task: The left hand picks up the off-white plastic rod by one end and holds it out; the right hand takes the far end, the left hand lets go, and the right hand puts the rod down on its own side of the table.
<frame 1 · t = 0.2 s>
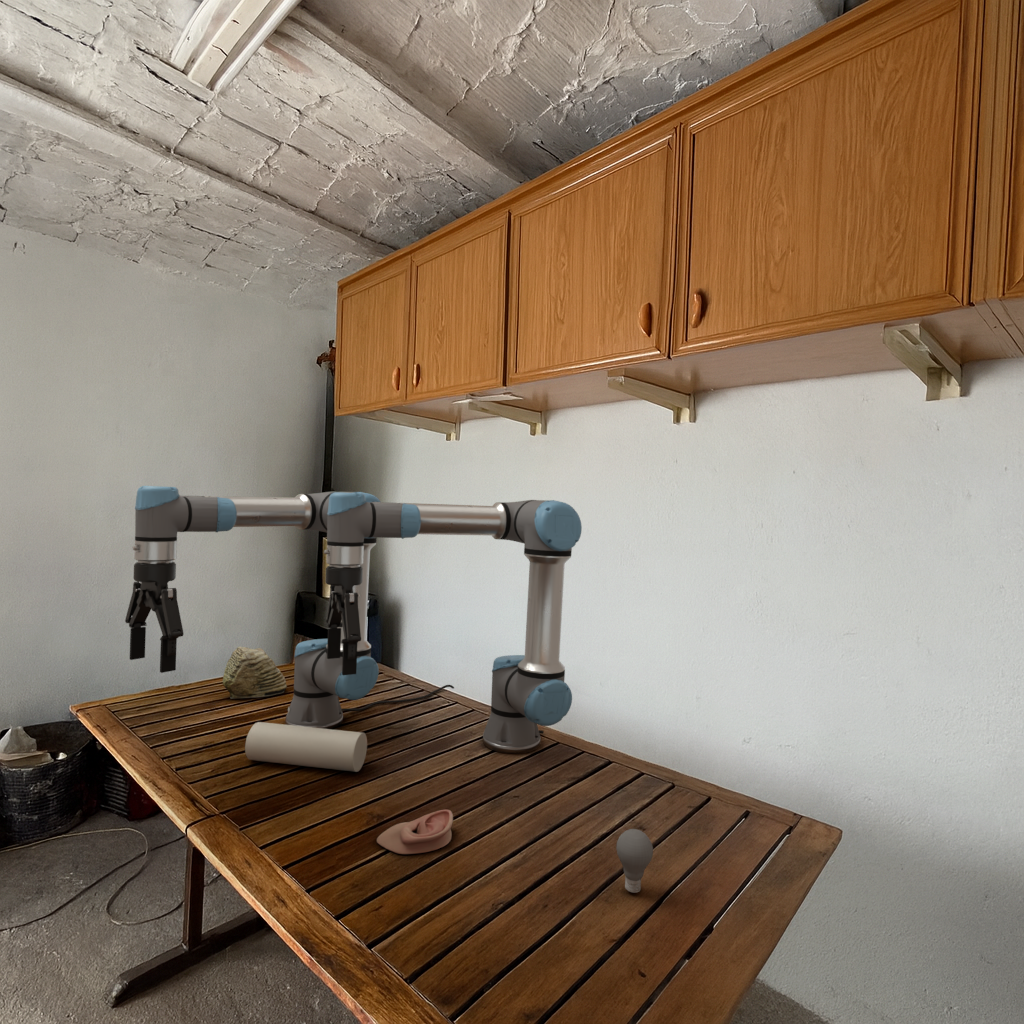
left hand: (152, 664, 130), 27 cm above the table, tool pointing down, fingers open, 13 cm apart
right hand: (340, 666, 134), 28 cm above the table, tool pointing down, fingers open, 13 cm apart
rod: (306, 764, 149), on the table
anatomical model: (415, 839, 119), on the table
light bulb: (632, 891, 106), on the table
fossil: (254, 694, 198), on the table
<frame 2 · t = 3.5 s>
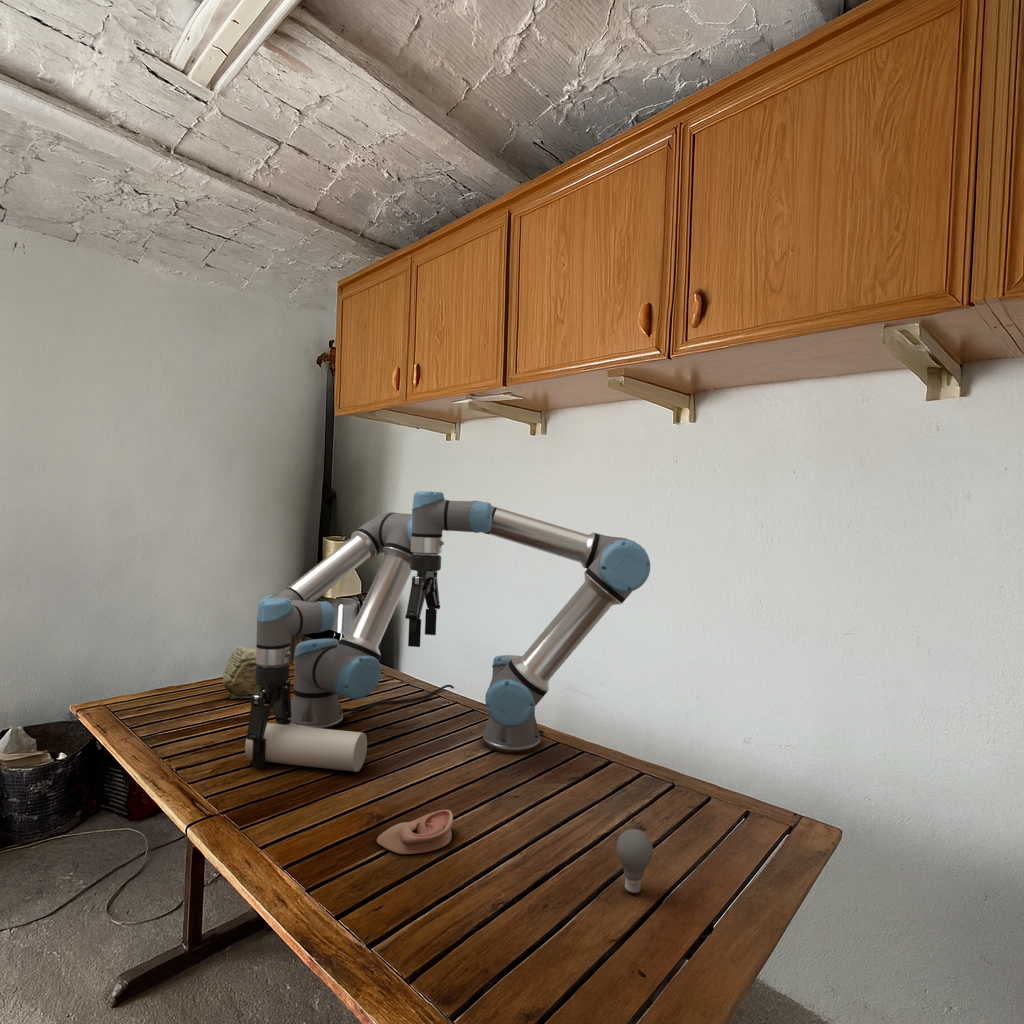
left hand: (269, 758, 151), 0 cm above the table, tool pointing down, fingers closed on rod, 9 cm apart
right hand: (422, 640, 156), 29 cm above the table, tool pointing down, fingers open, 13 cm apart
rod: (306, 764, 149), on the table, touching left hand
everything else where it was.
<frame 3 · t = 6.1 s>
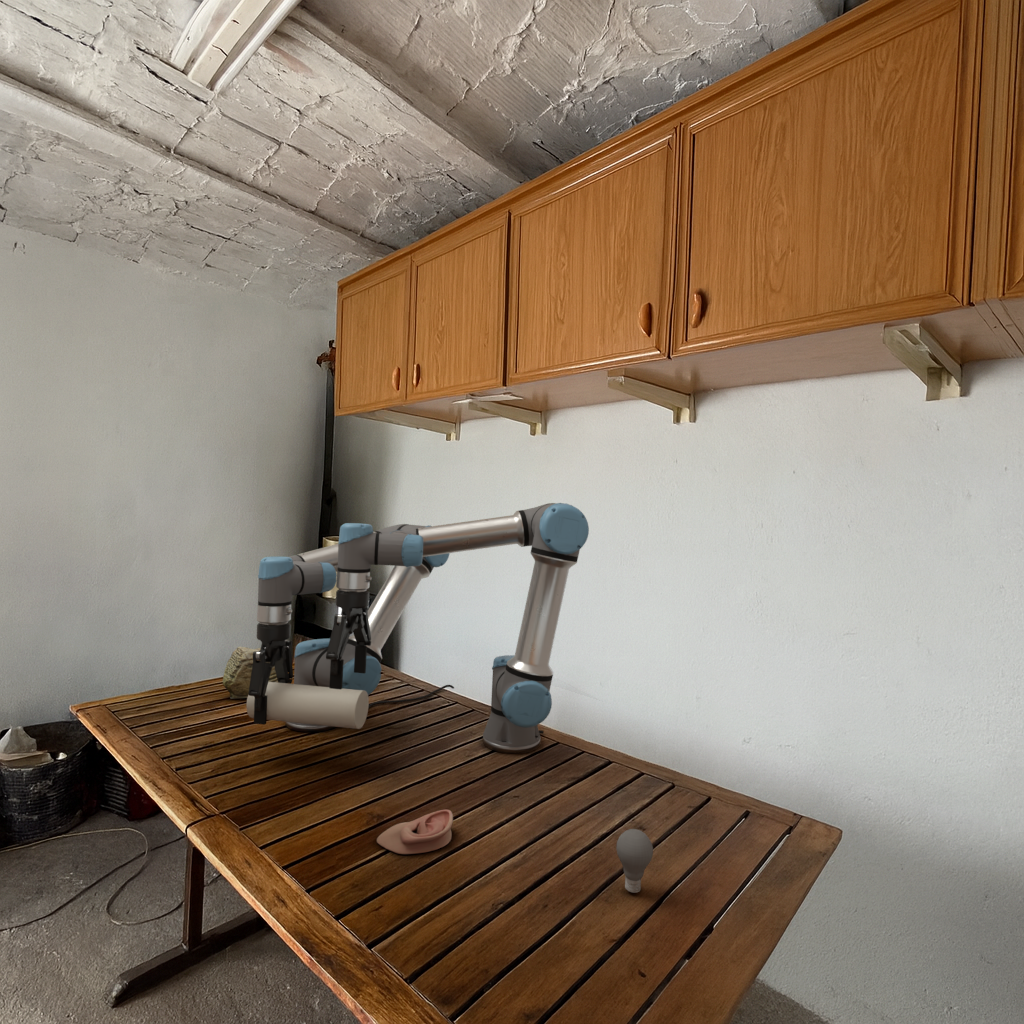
left hand: (270, 716, 150), 10 cm above the table, tool pointing down, fingers closed on rod, 9 cm apart
right hand: (348, 680, 148), 21 cm above the table, tool pointing down, fingers open, 13 cm apart
rod: (307, 722, 149), point 10 cm above the table, touching left hand
everything else where it was.
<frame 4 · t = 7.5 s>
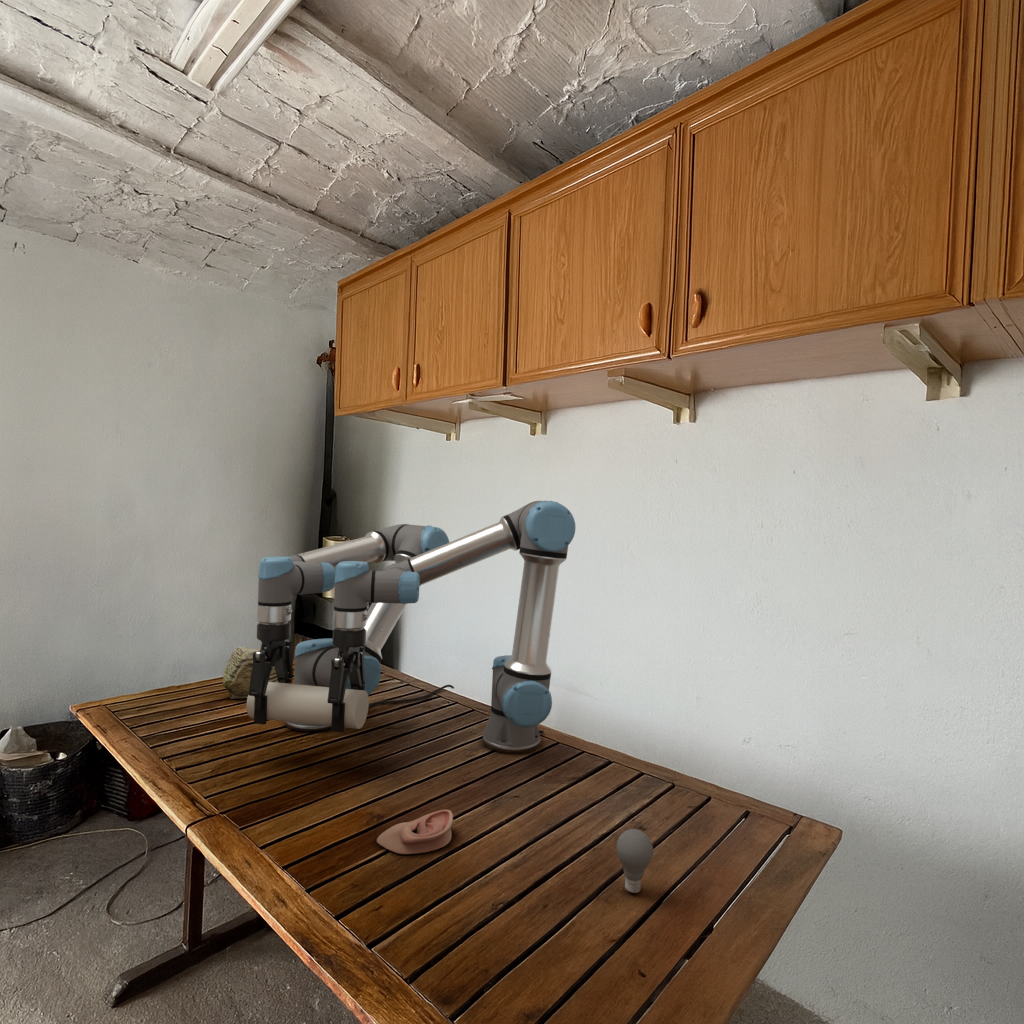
left hand: (270, 716, 150), 10 cm above the table, tool pointing down, fingers closed on rod, 9 cm apart
right hand: (346, 724, 148), 10 cm above the table, tool pointing down, fingers closed on rod, 9 cm apart
rod: (307, 722, 149), point 10 cm above the table, touching left hand, right hand
everything else where it was.
when the left hand's fingers open (10 cm above the table, at t = 8.6 s): rod stays where it is, held by the right hand.
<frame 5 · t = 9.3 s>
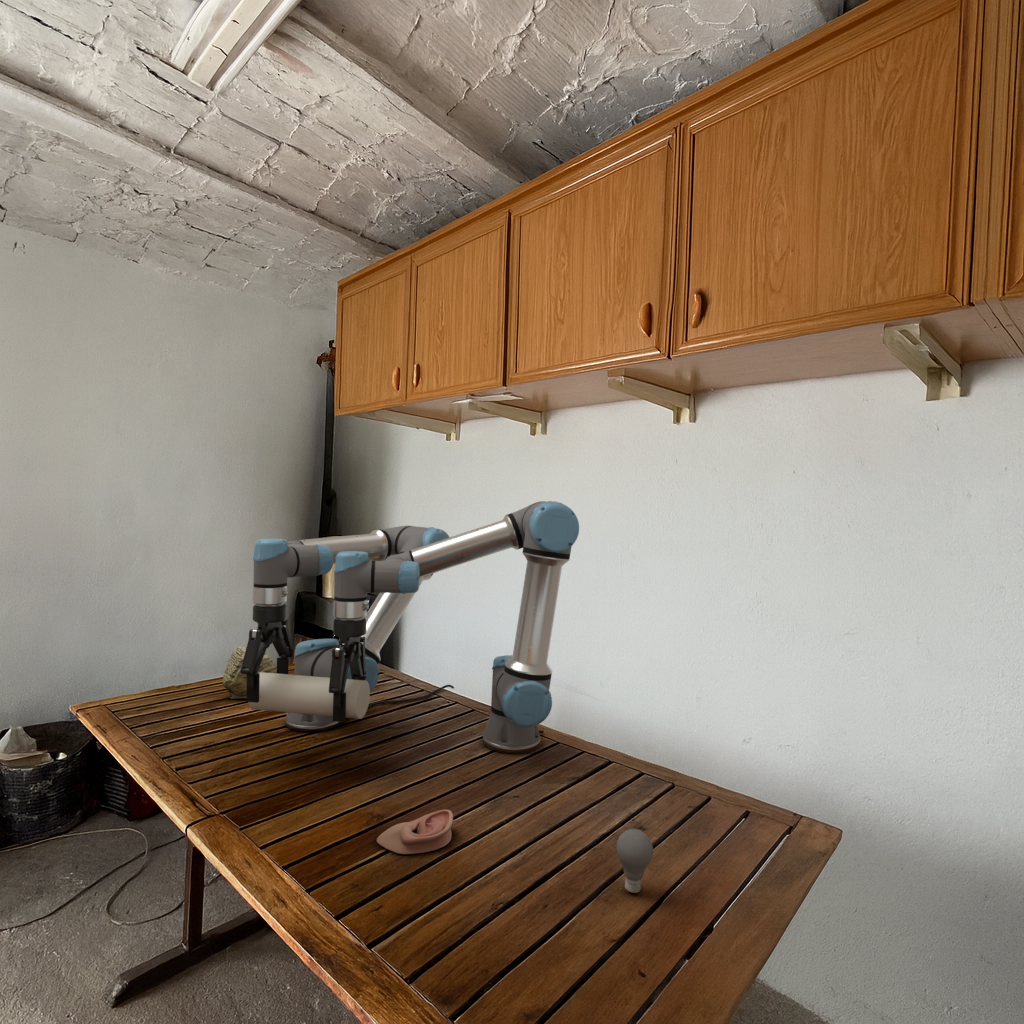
left hand: (268, 692, 151), 16 cm above the table, tool pointing down, fingers open, 13 cm apart
right hand: (347, 714, 148), 13 cm above the table, tool pointing down, fingers closed on rod, 9 cm apart
rod: (309, 713, 149), point 12 cm above the table, touching right hand
everything else where it was.
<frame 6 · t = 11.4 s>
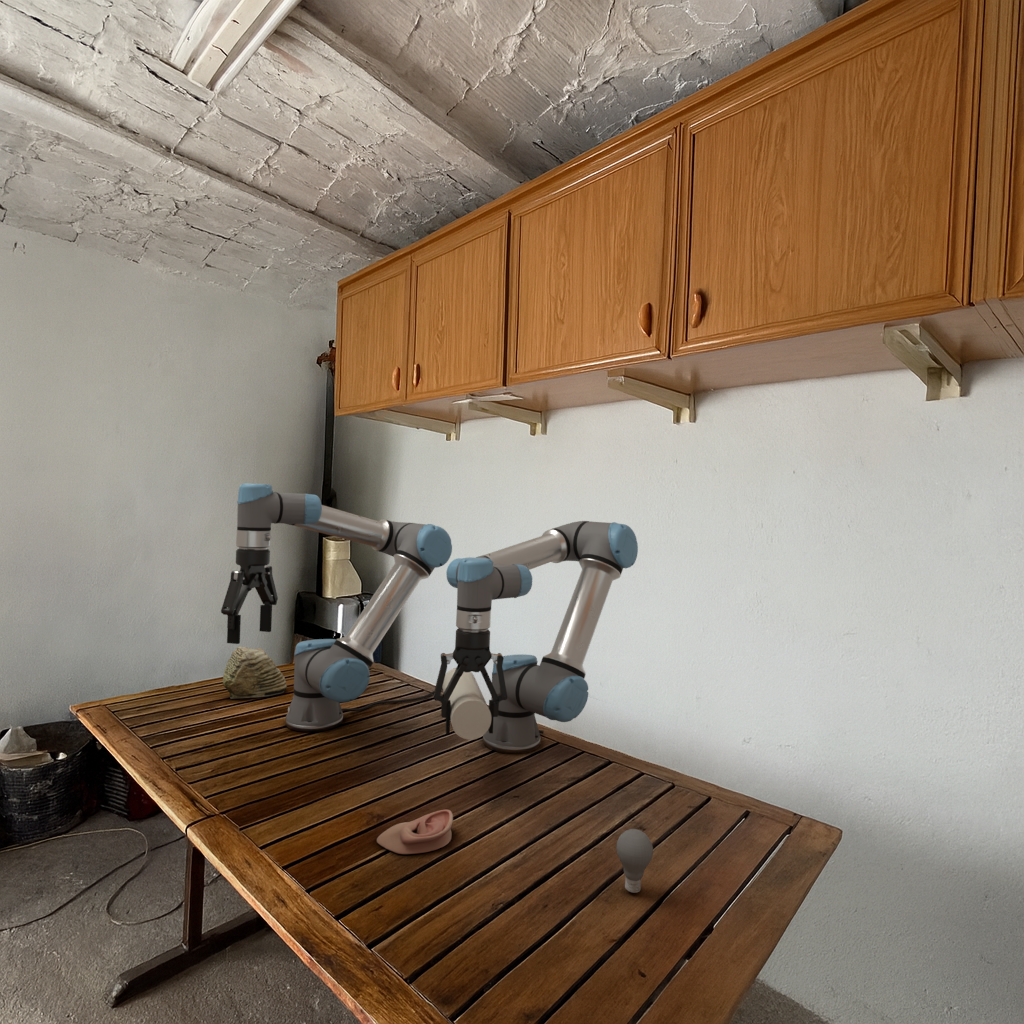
left hand: (250, 637, 151), 29 cm above the table, tool pointing down, fingers open, 13 cm apart
right hand: (469, 731, 139), 13 cm above the table, tool pointing down, fingers closed on rod, 9 cm apart
rod: (463, 718, 148), point 13 cm above the table, touching right hand
everything else where it was.
when the right hand's fingers open (2 cm above the table, at t = 15.1 s): rod drops 1 cm, on the table.
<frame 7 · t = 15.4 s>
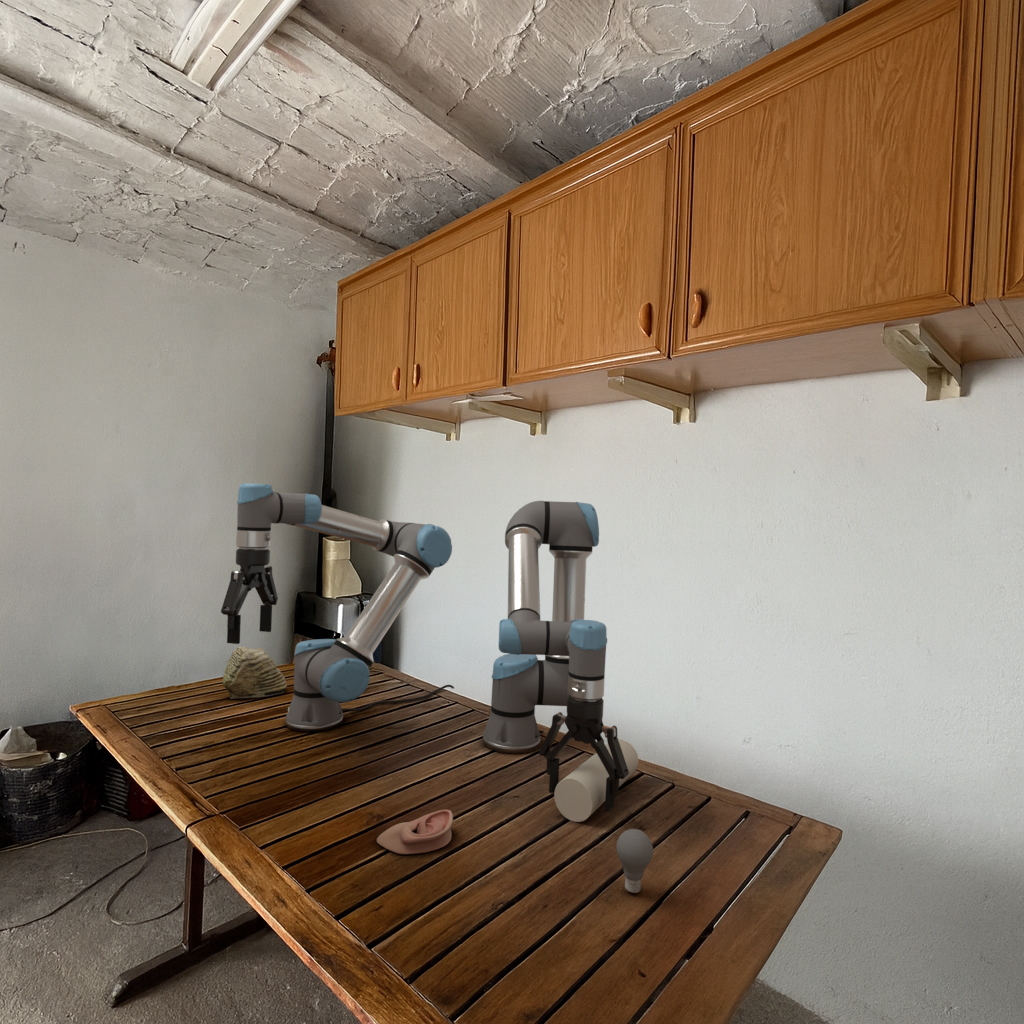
left hand: (250, 637, 151), 29 cm above the table, tool pointing down, fingers open, 13 cm apart
right hand: (580, 799, 131), 3 cm above the table, tool pointing down, fingers open, 12 cm apart
rod: (597, 796, 140), on the table
everything else where it was.
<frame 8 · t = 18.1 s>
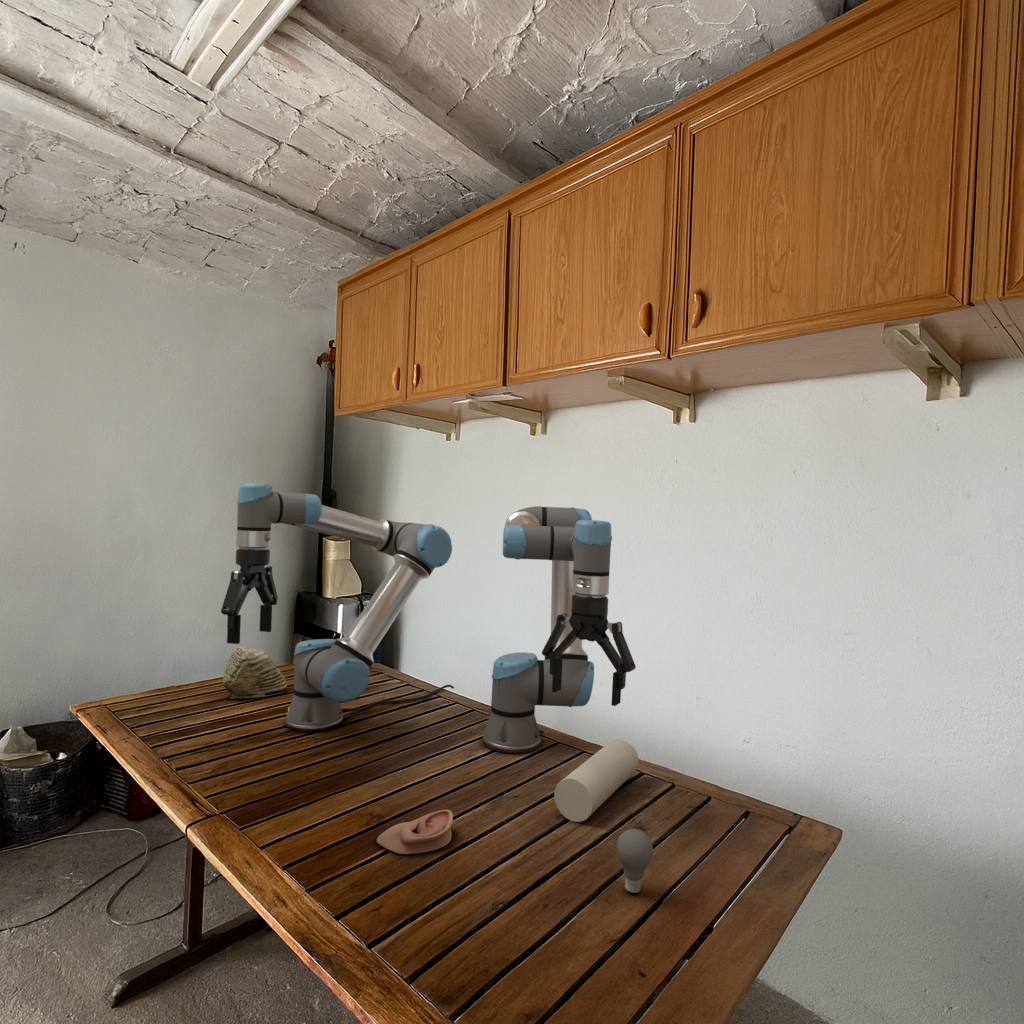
left hand: (250, 637, 151), 29 cm above the table, tool pointing down, fingers open, 13 cm apart
right hand: (585, 697, 131), 24 cm above the table, tool pointing down, fingers open, 13 cm apart
nothing on the table moved.
at the end: rod inside the target area (9.4 cm from its centre), on the table; the left hand is holding nothing; the right hand is holding nothing; rod at rest at the end (0.0 cm/s) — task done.
